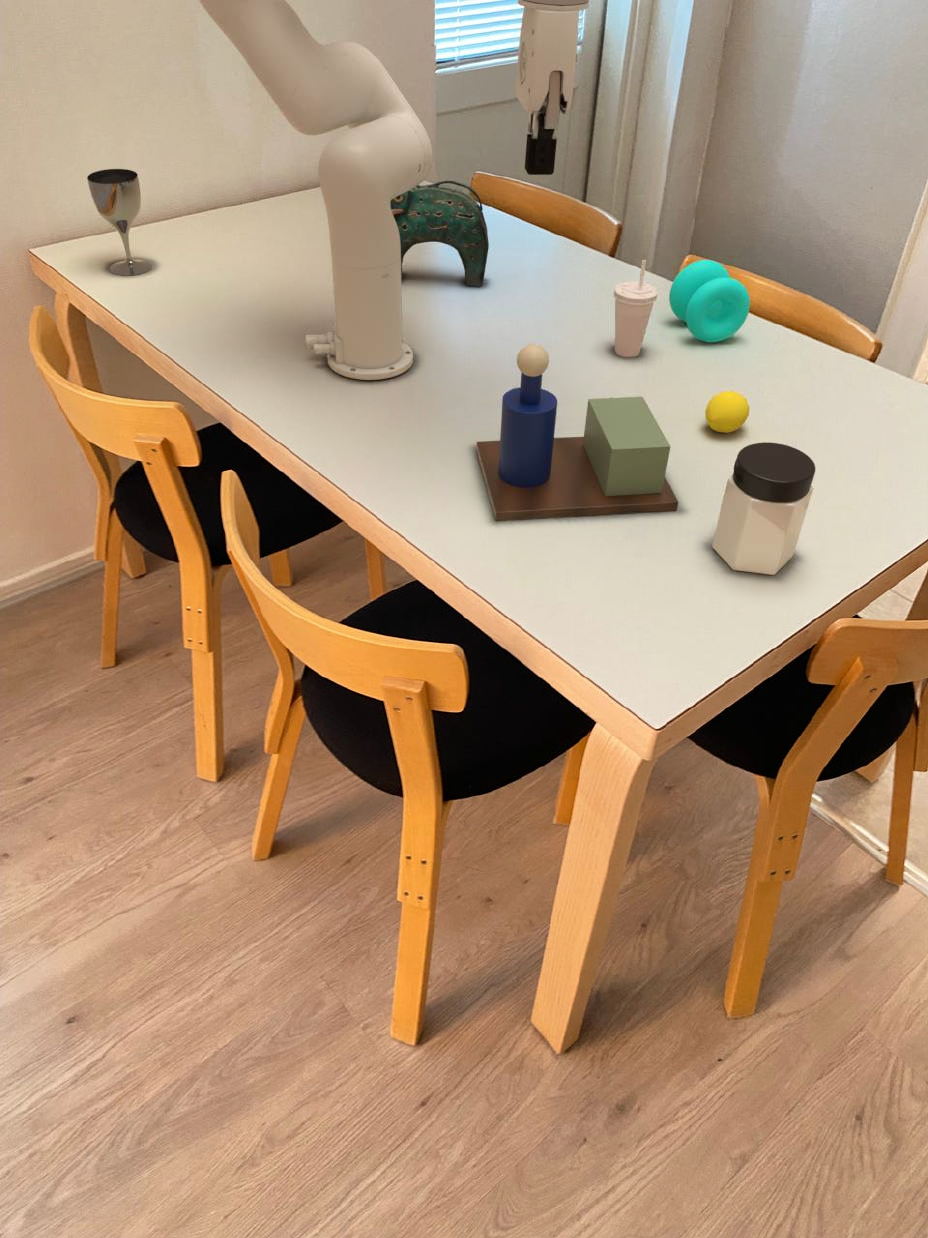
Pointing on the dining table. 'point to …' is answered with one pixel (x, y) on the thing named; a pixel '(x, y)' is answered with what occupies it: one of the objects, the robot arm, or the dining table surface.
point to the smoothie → (632, 314)
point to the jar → (764, 507)
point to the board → (562, 488)
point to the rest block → (625, 446)
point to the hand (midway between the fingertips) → (538, 172)
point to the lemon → (727, 411)
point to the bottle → (528, 424)
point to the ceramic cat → (444, 224)
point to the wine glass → (119, 210)
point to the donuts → (709, 301)
